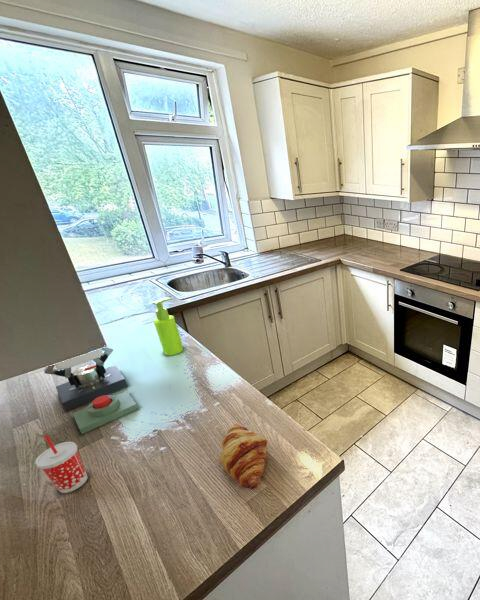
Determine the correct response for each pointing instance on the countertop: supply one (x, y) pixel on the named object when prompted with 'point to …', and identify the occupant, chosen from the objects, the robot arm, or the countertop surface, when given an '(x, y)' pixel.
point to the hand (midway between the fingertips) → (89, 380)
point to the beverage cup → (62, 466)
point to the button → (101, 401)
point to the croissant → (244, 456)
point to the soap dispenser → (167, 329)
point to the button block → (104, 412)
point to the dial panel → (91, 389)
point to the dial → (87, 376)
